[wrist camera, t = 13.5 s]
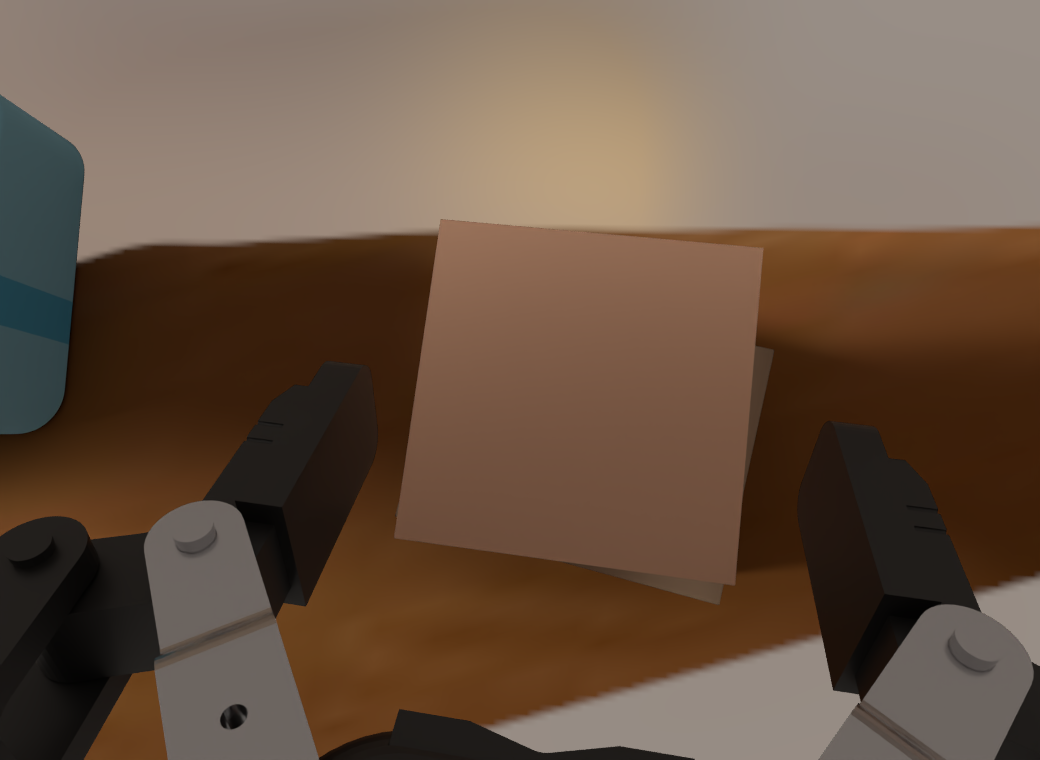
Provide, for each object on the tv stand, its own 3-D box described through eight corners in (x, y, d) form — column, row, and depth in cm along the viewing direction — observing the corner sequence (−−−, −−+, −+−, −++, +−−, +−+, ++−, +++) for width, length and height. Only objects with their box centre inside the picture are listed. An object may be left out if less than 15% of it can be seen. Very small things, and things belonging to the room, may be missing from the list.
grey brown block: (437, 509, 26) (394, 516, 20) (487, 324, 27) (460, 277, 21) (686, 577, 25) (719, 605, 19) (730, 381, 26) (774, 350, 20)
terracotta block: (659, 534, 19) (734, 584, 9) (489, 511, 20) (394, 538, 10) (675, 365, 20) (763, 248, 10) (511, 347, 20) (440, 219, 11)
